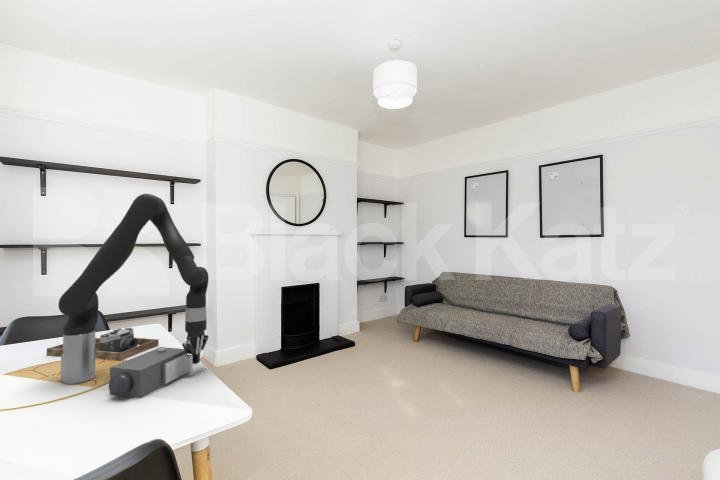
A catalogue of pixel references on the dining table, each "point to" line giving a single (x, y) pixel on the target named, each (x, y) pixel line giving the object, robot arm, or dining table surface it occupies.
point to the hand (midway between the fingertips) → (195, 363)
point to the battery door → (177, 367)
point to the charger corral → (59, 349)
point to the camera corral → (144, 345)
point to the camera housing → (141, 373)
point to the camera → (118, 340)
